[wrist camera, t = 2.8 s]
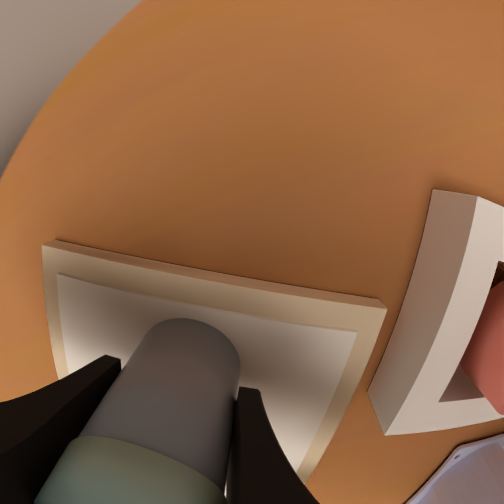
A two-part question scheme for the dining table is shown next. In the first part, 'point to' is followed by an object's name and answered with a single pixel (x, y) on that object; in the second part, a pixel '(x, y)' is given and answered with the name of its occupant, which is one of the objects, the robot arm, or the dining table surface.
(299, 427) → the board
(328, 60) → the dining table surface
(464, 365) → the button cap
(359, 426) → the dining table surface
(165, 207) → the dining table surface
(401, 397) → the button housing
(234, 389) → the grey teal cylinder
